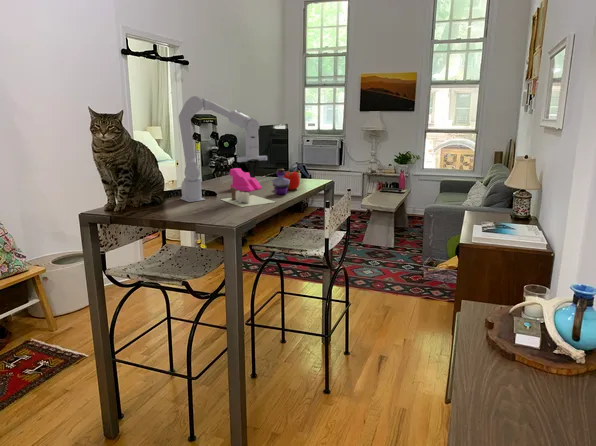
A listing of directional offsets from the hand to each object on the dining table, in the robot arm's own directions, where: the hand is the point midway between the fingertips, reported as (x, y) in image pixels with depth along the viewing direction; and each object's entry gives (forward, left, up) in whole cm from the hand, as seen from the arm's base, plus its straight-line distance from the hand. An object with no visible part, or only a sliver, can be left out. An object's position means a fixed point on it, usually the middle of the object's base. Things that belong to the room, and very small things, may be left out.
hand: (252, 177), depth 201 cm
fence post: (0, -10, -10) cm, 14 cm away
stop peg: (+9, -12, -9) cm, 17 cm away
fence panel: (+6, -9, -9) cm, 14 cm away
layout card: (+5, -5, -10) cm, 12 cm away
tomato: (-10, +27, -10) cm, 30 cm away
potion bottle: (-1, +16, -10) cm, 19 cm away
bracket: (-22, +10, -10) cm, 26 cm away
